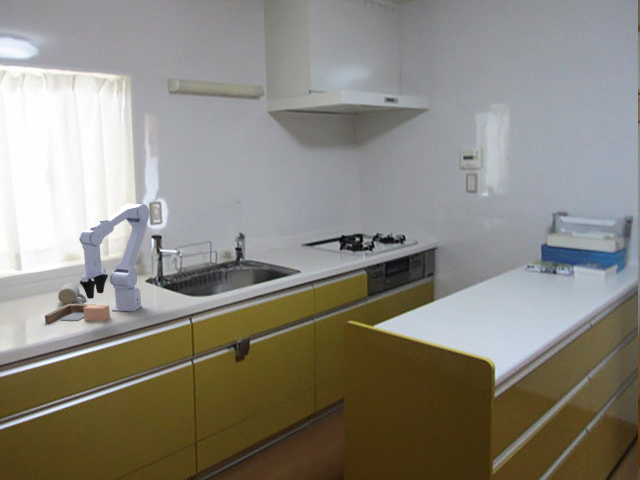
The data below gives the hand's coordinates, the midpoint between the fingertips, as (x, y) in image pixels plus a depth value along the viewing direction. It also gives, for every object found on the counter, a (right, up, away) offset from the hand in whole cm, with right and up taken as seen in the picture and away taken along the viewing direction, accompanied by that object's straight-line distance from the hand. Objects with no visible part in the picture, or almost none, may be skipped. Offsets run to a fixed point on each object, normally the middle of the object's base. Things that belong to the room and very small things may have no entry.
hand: (95, 295), depth 213 cm
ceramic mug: (-20, -6, +26) cm, 33 cm away
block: (0, -9, +2) cm, 9 cm away
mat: (-9, -9, +4) cm, 13 cm away
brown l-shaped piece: (-11, -9, +4) cm, 14 cm away
